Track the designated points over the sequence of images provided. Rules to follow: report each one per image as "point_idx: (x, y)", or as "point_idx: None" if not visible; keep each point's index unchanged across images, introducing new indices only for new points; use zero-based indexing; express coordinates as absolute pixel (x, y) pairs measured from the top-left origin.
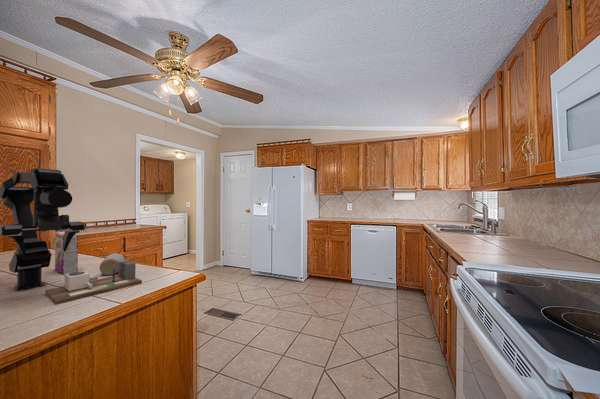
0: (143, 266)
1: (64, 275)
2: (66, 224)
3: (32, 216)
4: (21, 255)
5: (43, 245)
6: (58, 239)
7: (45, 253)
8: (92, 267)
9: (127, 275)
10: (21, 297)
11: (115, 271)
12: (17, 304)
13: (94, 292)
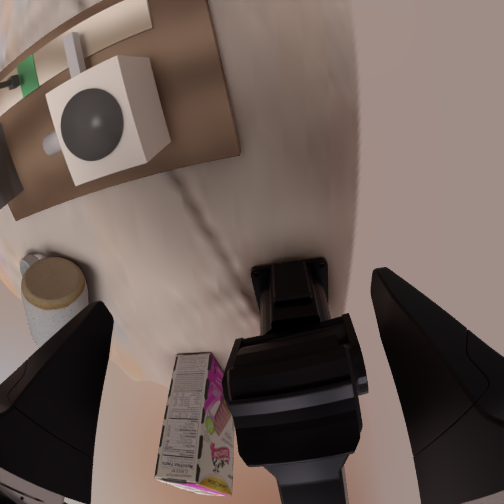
0: (19, 294)
1: (150, 158)
2: None
3: None
4: (350, 374)
5: (252, 438)
6: (219, 474)
7: (242, 386)
8: (149, 369)
9: None
10: (316, 158)
11: (46, 259)
12: (324, 66)
13: (75, 16)
